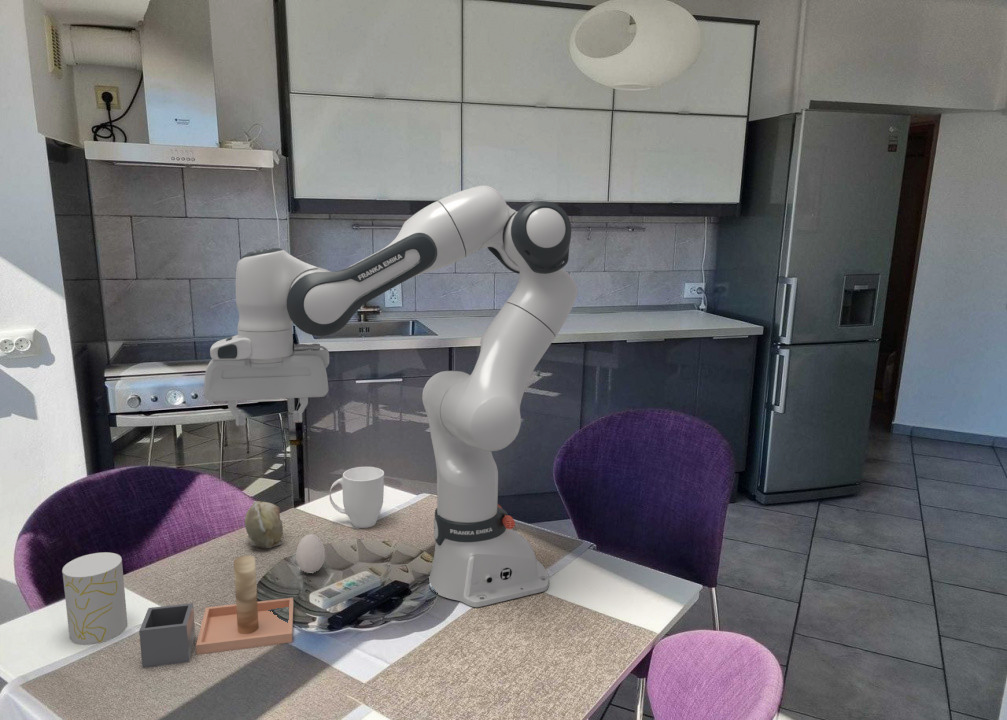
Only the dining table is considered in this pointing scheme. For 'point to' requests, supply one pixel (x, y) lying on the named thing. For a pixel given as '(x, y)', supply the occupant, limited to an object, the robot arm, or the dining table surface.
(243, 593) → the dowel
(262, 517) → the olive grey rounded lump
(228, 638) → the tray
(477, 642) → the dining table surface
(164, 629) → the holder
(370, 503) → the mug
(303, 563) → the egg
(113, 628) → the grey patterned cylinder
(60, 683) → the dining table surface
